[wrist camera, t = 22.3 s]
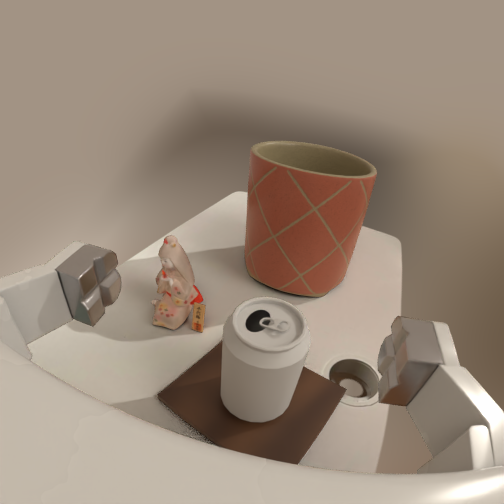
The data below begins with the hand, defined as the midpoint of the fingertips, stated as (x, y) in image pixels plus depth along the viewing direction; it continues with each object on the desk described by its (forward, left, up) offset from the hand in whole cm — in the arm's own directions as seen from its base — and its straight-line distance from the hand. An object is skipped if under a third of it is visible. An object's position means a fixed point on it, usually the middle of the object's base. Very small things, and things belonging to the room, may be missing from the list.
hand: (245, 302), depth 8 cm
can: (+5, -11, -24) cm, 27 cm away
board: (+5, -11, -25) cm, 28 cm away
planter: (+15, -37, -25) cm, 47 cm away
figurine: (+21, -15, -25) cm, 36 cm away
